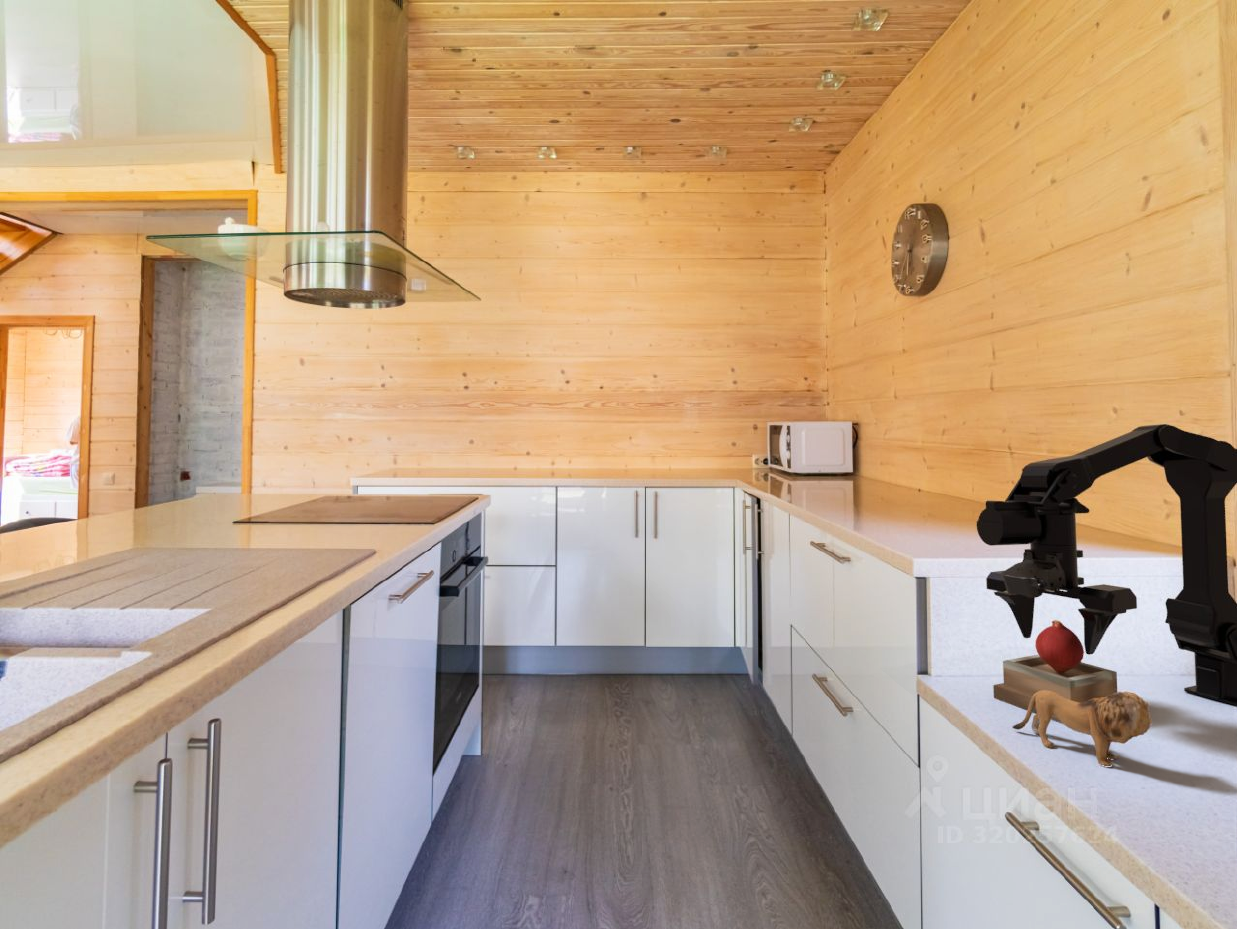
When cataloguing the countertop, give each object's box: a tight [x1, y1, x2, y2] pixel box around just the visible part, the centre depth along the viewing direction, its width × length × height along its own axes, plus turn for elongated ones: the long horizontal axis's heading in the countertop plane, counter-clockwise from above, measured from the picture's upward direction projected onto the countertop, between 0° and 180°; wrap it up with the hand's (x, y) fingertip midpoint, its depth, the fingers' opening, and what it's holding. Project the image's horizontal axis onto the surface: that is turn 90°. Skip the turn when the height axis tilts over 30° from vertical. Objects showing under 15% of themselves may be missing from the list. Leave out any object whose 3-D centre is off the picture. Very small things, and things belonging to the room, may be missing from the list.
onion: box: [1035, 619, 1085, 673], centre depth 89 cm, size 6×6×8 cm
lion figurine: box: [1012, 690, 1152, 766], centre depth 75 cm, size 15×5×9 cm, turn 36°
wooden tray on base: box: [992, 653, 1118, 723], centre depth 89 cm, size 12×12×6 cm
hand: (1056, 645), depth 89 cm, fingers open, 9 cm apart
